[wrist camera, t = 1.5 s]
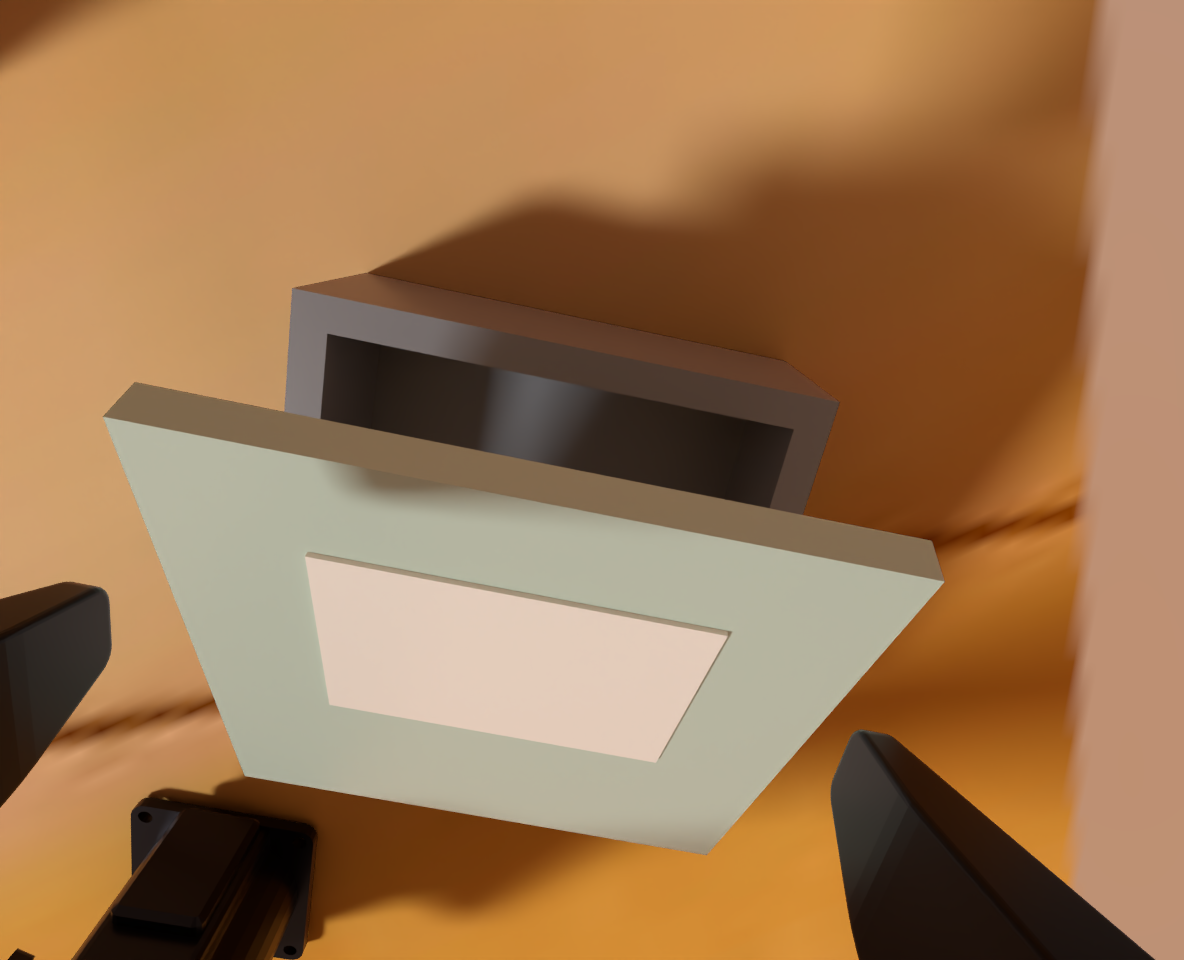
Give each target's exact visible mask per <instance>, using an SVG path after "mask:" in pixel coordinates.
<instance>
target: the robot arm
mask: <svg viewBox="0 0 1184 960" xmlns="http://www.w3.org/2000/svg"><path fill="white" fill-rule="evenodd" d="M111 647H112V642H111V623H110V604H109V597H108V595H107V593H106V591H105V590H103V589H102V588H100V587H96V586H91V585H86V584H80V583H75V582H62V583H58V584H54V585H51V586H47V587H43V588H40V589H36V590H32V591H28V592H25V593H21V594H17V595H13V596H10V597H6V598H2V599H0V807H1V806H2V805H3V804H4V803H5V802H6V800H7V799H8V798H9V797H10V796H11V794H12V793H13V792H14V791H15V790H16V788H17V787H18V786H19V785H20V784H21V783H22V781H23V780H24V779H25V777H26V776H27V775H28V773H29V772H30V771H31V769H32V768H33V767H34V766H35V764H36V763H37V762H38V760H39V759H40V757H41V756H42V755H43V753H44V752H45V750H46V749H47V748H48V746H49V745H50V743H51V742H52V741H53V739H54V738H55V737H56V735H57V734H58V732H59V731H60V730H61V728H62V727H63V725H64V724H65V723H66V721H67V720H68V718H69V717H70V716H71V714H72V713H73V711H74V710H75V709H76V707H77V706H78V705H79V703H80V702H81V700H82V699H83V698H84V696H85V695H86V693H87V692H88V691H89V689H90V688H91V686H92V685H93V684H94V682H95V681H96V679H97V678H98V677H99V675H100V674H101V673H102V671H103V670H104V668H105V666H106V664H107V662H108V660H109V657H110V654H111ZM831 805H832V811H833V818H834V824H835V831H836V837H837V844H838V850H839V857H840V863H841V870H842V876H843V883H844V889H845V895H846V902H847V908H848V913H849V919H850V924H851V929H852V933H853V938H854V942H855V946H856V950H857V954H858V958H859V960H1155V959H1154V958H1152V957H1151V956H1150V955H1149V954H1148V953H1146V952H1145V951H1144V950H1143V949H1142V948H1141V947H1139V946H1138V945H1137V944H1136V943H1135V942H1134V941H1132V940H1131V939H1130V938H1129V937H1128V936H1127V935H1125V934H1124V933H1123V932H1122V931H1121V930H1119V929H1118V928H1117V927H1116V926H1114V924H1112V923H1111V922H1110V921H1109V920H1108V919H1107V918H1105V917H1104V916H1103V915H1102V914H1100V913H1099V912H1098V911H1097V910H1096V909H1095V908H1094V907H1092V906H1091V905H1090V904H1089V903H1088V902H1087V901H1085V900H1084V899H1083V898H1082V897H1081V896H1079V895H1078V894H1077V893H1076V892H1075V891H1074V890H1072V889H1071V888H1070V887H1069V886H1068V885H1067V884H1065V883H1064V882H1063V881H1062V880H1061V879H1059V878H1058V877H1057V876H1056V875H1055V874H1054V873H1052V872H1051V871H1050V870H1049V869H1048V868H1047V867H1045V866H1044V865H1043V864H1042V863H1041V862H1039V861H1038V860H1037V859H1036V858H1035V857H1034V856H1032V855H1031V854H1030V853H1029V852H1028V851H1027V850H1025V849H1024V848H1023V847H1022V846H1021V845H1019V844H1018V843H1017V842H1016V841H1015V840H1014V839H1012V838H1011V837H1010V836H1009V835H1008V834H1007V833H1005V832H1004V831H1003V830H1002V829H1001V828H999V827H998V826H997V825H996V824H995V823H994V822H992V821H991V820H990V819H989V818H988V817H987V816H985V815H984V814H983V813H982V812H981V811H979V810H978V809H977V808H976V807H975V806H974V805H972V804H971V803H970V802H969V801H968V800H967V799H965V798H964V797H963V796H962V795H961V794H959V793H958V792H957V791H956V790H955V789H954V788H952V787H951V786H950V785H949V784H948V783H947V782H945V781H944V780H943V779H942V778H941V777H940V776H938V775H937V774H936V773H935V772H934V771H932V770H931V769H930V768H929V767H928V766H927V765H925V764H924V763H923V762H922V761H921V760H920V759H918V758H917V757H916V756H915V755H914V754H912V753H911V752H910V751H909V750H908V749H907V748H905V747H904V746H903V745H902V744H901V743H900V742H898V741H897V740H896V739H895V738H894V737H892V736H890V735H888V734H883V733H878V732H872V731H867V730H858V731H856V732H854V733H853V734H852V736H851V737H850V739H849V741H848V744H847V746H846V749H845V751H844V754H843V756H842V758H841V761H840V763H839V766H838V768H837V770H836V773H835V775H834V778H833V781H832V785H831ZM299 837H300V838H299ZM301 838H303V839H301ZM316 846H317V832H316V830H315V829H314V828H313V827H312V826H310V825H307V824H304V823H298V822H292V821H286V820H280V819H274V818H268V817H262V816H256V815H250V814H245V813H239V812H233V811H227V810H221V809H215V808H209V807H203V806H197V805H191V804H185V803H179V802H173V801H167V800H161V799H156V798H144V799H142V800H141V801H140V802H139V803H138V804H137V805H136V806H135V808H134V809H133V810H132V813H131V852H132V877H131V878H130V879H129V881H128V882H127V883H126V885H125V886H124V888H123V889H122V890H121V892H120V893H119V894H118V896H117V897H116V899H115V900H114V901H113V903H112V904H111V906H110V907H109V908H108V910H107V911H106V912H105V914H104V915H103V917H102V918H101V919H100V921H99V922H98V924H97V925H96V926H95V928H94V929H93V930H92V932H91V933H90V935H89V936H88V937H87V939H86V940H85V942H84V943H83V944H82V946H81V947H80V948H79V950H78V951H77V953H76V954H75V955H74V957H73V958H72V960H272V959H273V957H277V958H283V959H292V960H294V959H298V958H299V957H301V956H302V954H303V951H304V949H305V946H306V944H307V937H308V927H309V917H310V906H311V896H312V886H313V876H314V866H315V856H316ZM34 957H35V956H34V955H32V954H29V953H27V952H25V951H23V950H20V949H17V950H16V951H15V952H14V953H13V954H12V955H11V956H10V958H9V959H8V960H33V959H34Z"/></svg>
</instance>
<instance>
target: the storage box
mask: <svg viewBox="0 0 1184 960" xmlns="http://www.w3.org/2000/svg"><path fill="white" fill-rule="evenodd" d="M839 403H840V402H839V401H838V400H836V399H835V398H834V397H832V396H831V395H830V394H828V393H827V392H826V391H824V390H823V389H822V388H820V387H819V386H818V385H816V384H815V383H814V382H812V381H811V380H810V379H808V378H807V377H806V376H804V375H803V374H802V373H800V372H799V371H798V370H796V369H795V368H794V367H792V366H791V365H790V364H788V363H787V362H786V361H782V360H777V359H772V358H767V357H763V356H758V355H753V354H748V353H744V352H739V351H734V350H729V349H725V348H720V347H715V346H710V345H706V344H701V343H696V342H692V341H687V340H682V339H677V338H673V337H668V336H663V335H658V334H654V333H649V332H644V331H639V330H635V329H630V328H625V327H620V326H616V325H611V324H606V323H601V322H597V321H592V320H587V319H582V318H578V317H573V316H568V315H563V314H559V313H554V312H549V311H544V310H540V309H535V308H530V307H525V306H521V305H516V304H511V303H506V302H502V301H497V300H492V299H487V298H483V297H478V296H473V295H468V294H464V293H459V292H454V291H449V290H445V289H440V288H435V287H430V286H426V285H421V284H416V283H411V282H407V281H402V280H397V279H392V278H388V277H383V276H378V275H373V274H369V273H363V274H358V275H354V276H349V277H344V278H339V279H334V280H329V281H324V282H320V283H315V284H310V285H305V286H300V287H295V288H292V301H291V316H290V332H289V348H288V364H287V380H286V396H285V412H287V413H293V414H298V415H303V416H308V417H313V418H318V419H323V420H328V421H333V422H338V423H343V424H348V425H353V426H358V427H363V428H368V429H373V430H378V431H383V432H388V433H393V434H398V435H403V436H408V437H413V438H418V439H423V440H428V441H433V442H438V443H443V444H448V445H453V446H458V447H463V448H468V449H473V450H478V451H483V452H489V453H494V454H499V455H504V456H509V457H514V458H519V459H524V460H529V461H534V462H539V463H544V464H549V465H554V466H559V467H564V468H569V469H574V470H579V471H584V472H589V473H594V474H599V475H604V476H609V477H614V478H619V479H624V480H629V481H634V482H639V483H644V484H649V485H654V486H659V487H664V488H669V489H674V490H679V491H685V492H690V493H695V494H700V495H705V496H710V497H715V498H720V499H725V500H730V501H735V502H740V503H745V504H750V505H755V506H760V507H765V508H770V509H775V510H780V511H785V512H790V513H795V514H800V515H803V513H804V510H805V507H806V504H807V500H808V497H809V494H810V491H811V488H812V485H813V482H814V479H815V476H816V473H817V470H818V467H819V464H820V461H821V458H822V455H823V452H824V449H825V446H826V443H827V440H828V437H829V434H830V431H831V428H832V425H833V421H834V418H835V415H836V412H837V409H838V406H839Z"/></svg>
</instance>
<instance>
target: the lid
mask: <svg viewBox="0 0 1184 960" xmlns="http://www.w3.org/2000/svg"><path fill="white" fill-rule="evenodd" d="M103 418H104V421H105V423H106V426H107V428H108V431H109V433H110V436H111V438H112V441H113V444H114V446H115V449H116V451H117V454H118V456H119V459H120V461H121V464H122V466H123V469H124V471H125V474H126V476H127V479H128V482H129V484H130V487H131V489H132V492H133V494H134V497H135V499H136V502H137V504H138V507H139V509H140V512H141V514H142V517H143V519H144V522H145V525H146V527H147V530H148V532H149V535H150V537H151V540H152V542H153V545H154V547H155V550H156V552H157V555H158V557H159V560H160V563H161V565H162V568H163V570H164V573H165V575H166V578H167V580H168V583H169V585H170V588H171V590H172V593H173V595H174V598H175V601H176V603H177V606H178V608H179V611H180V613H181V616H182V618H183V621H184V623H185V626H186V628H187V631H188V633H189V636H190V638H191V641H192V644H193V646H194V649H195V651H196V654H197V656H198V659H199V661H200V664H201V666H202V669H203V671H204V674H205V676H206V679H207V682H208V684H209V687H210V689H211V692H212V694H213V697H214V699H215V702H216V704H217V707H218V709H219V712H220V714H221V717H222V720H223V722H224V725H225V727H226V730H227V732H228V735H229V737H230V740H231V742H232V745H233V747H234V750H235V752H236V755H237V757H238V760H239V763H240V765H241V768H242V770H243V773H244V775H245V776H248V777H254V778H259V779H265V780H271V781H277V782H283V783H289V784H294V785H300V786H306V787H312V788H318V789H324V790H329V791H335V792H341V793H347V794H353V795H359V796H364V797H370V798H376V799H382V800H388V801H394V802H399V803H405V804H411V805H417V806H423V807H429V808H435V809H440V810H446V811H452V812H458V813H464V814H470V815H475V816H481V817H487V818H493V819H499V820H505V821H510V822H516V823H522V824H528V825H534V826H540V827H545V828H551V829H557V830H563V831H569V832H575V833H580V834H586V835H592V836H598V837H604V838H610V839H615V840H621V841H627V842H633V843H639V844H645V845H651V846H656V847H662V848H668V849H674V850H680V851H686V852H691V853H697V854H703V855H707V854H708V853H709V852H710V851H711V850H712V848H713V847H714V846H715V845H716V844H717V843H718V842H719V840H720V839H721V838H722V837H723V836H724V835H725V833H726V832H727V831H728V830H729V829H730V828H731V827H732V825H733V824H734V823H735V822H736V821H737V820H738V819H739V817H740V816H741V815H742V814H743V813H744V812H745V811H746V809H747V808H748V807H749V806H750V805H751V804H752V802H753V801H754V800H755V799H756V798H757V797H758V796H759V794H760V793H761V792H762V791H763V790H764V789H765V788H766V786H767V785H768V784H769V783H770V782H771V781H772V779H773V778H774V777H775V776H776V775H777V774H778V773H779V771H780V770H781V769H782V768H783V767H784V766H785V765H786V763H787V762H788V761H789V760H790V759H791V758H792V757H793V755H794V754H795V753H796V752H797V751H798V750H799V748H800V747H801V746H802V745H803V744H804V743H805V742H806V740H807V739H808V738H809V737H810V736H811V735H812V734H813V732H814V731H815V730H816V729H817V728H818V727H819V726H820V724H821V723H822V722H823V721H824V720H825V719H826V717H827V716H828V715H829V714H830V713H831V712H832V711H833V709H834V708H835V707H836V706H837V705H838V704H839V703H840V701H841V700H842V699H843V698H844V697H845V696H846V695H847V693H848V692H849V691H850V690H851V689H852V688H853V686H854V685H855V684H856V683H857V682H858V681H859V680H860V678H861V677H862V676H863V675H864V674H865V673H866V672H867V670H868V669H869V668H870V667H871V666H872V665H873V663H874V662H875V661H876V660H877V659H878V658H879V657H880V655H881V654H882V653H883V652H884V651H885V650H886V649H887V647H888V646H889V645H890V644H891V643H892V642H893V641H894V639H895V638H896V637H897V636H898V635H899V634H900V632H901V631H902V630H903V629H904V628H905V627H906V626H907V624H908V623H909V622H910V621H911V620H912V619H913V618H914V616H915V615H916V614H917V613H918V612H919V611H920V610H921V608H922V607H923V606H924V605H925V604H926V603H927V601H928V600H929V599H930V598H931V597H932V596H933V595H934V593H935V592H936V591H937V590H938V589H939V588H940V587H941V585H942V584H943V583H944V582H945V581H944V578H943V575H942V571H941V568H940V565H939V562H938V559H937V556H936V552H935V549H934V546H933V543H932V541H931V540H926V539H921V538H916V537H911V536H906V535H901V534H896V533H891V532H886V531H881V530H875V529H870V528H865V527H860V526H855V525H850V524H845V523H840V522H835V521H830V520H825V519H820V518H815V517H810V516H805V515H800V514H795V513H790V512H785V511H780V510H775V509H770V508H765V507H760V506H755V505H750V504H745V503H740V502H735V501H730V500H725V499H720V498H715V497H710V496H705V495H700V494H695V493H690V492H685V491H679V490H674V489H669V488H664V487H659V486H654V485H649V484H644V483H639V482H634V481H629V480H624V479H619V478H614V477H609V476H604V475H599V474H594V473H589V472H584V471H579V470H574V469H569V468H564V467H559V466H554V465H549V464H544V463H539V462H534V461H529V460H524V459H519V458H514V457H509V456H504V455H499V454H494V453H489V452H483V451H478V450H473V449H468V448H463V447H458V446H453V445H448V444H443V443H438V442H433V441H428V440H423V439H418V438H413V437H408V436H403V435H398V434H393V433H388V432H383V431H378V430H373V429H368V428H363V427H358V426H353V425H348V424H343V423H338V422H333V421H328V420H323V419H318V418H313V417H308V416H303V415H298V414H293V413H287V412H282V411H277V410H272V409H267V408H262V407H257V406H252V405H247V404H242V403H237V402H232V401H227V400H222V399H217V398H212V397H207V396H202V395H197V394H192V393H187V392H182V391H177V390H172V389H167V388H162V387H157V386H152V385H147V384H142V383H137V382H135V383H134V384H133V385H132V386H131V387H130V388H129V389H128V390H127V391H126V392H125V393H124V394H123V395H122V397H121V398H120V399H119V400H118V401H117V402H116V403H115V404H114V405H113V406H112V407H111V408H110V410H109V411H108V412H107V413H106V414H105V415H104V416H103Z"/></svg>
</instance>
